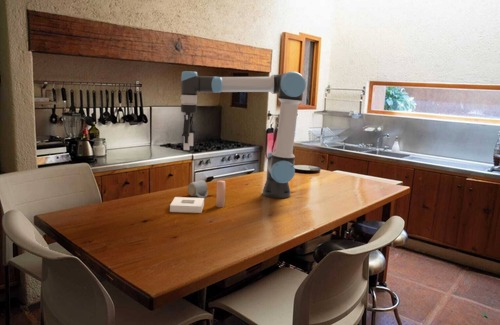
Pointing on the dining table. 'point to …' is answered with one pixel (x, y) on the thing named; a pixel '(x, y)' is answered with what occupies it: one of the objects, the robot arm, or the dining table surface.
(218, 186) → the peg
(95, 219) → the dining table surface
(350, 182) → the dining table surface
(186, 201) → the socket block
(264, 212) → the dining table surface
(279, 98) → the robot arm
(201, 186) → the ceramic mug
